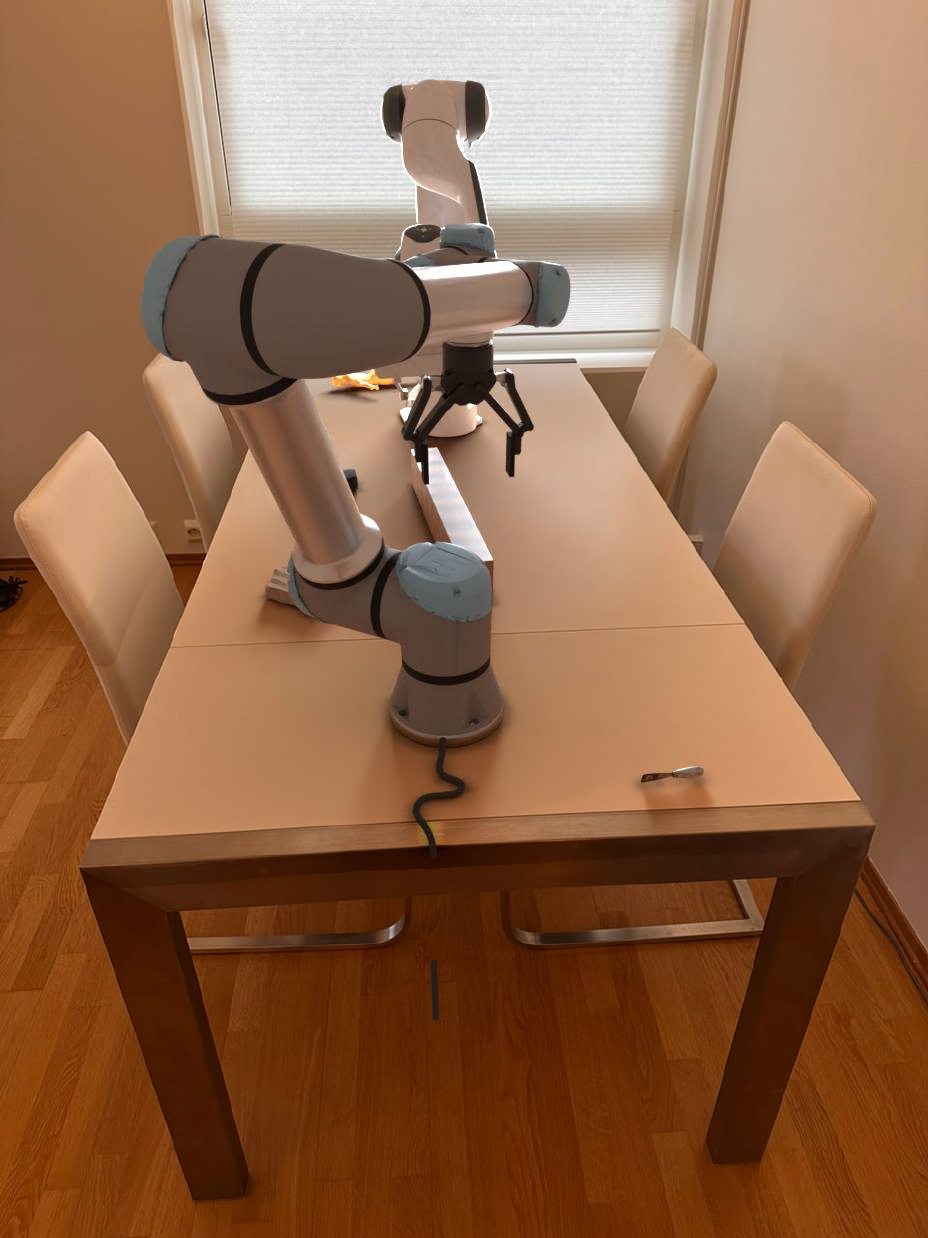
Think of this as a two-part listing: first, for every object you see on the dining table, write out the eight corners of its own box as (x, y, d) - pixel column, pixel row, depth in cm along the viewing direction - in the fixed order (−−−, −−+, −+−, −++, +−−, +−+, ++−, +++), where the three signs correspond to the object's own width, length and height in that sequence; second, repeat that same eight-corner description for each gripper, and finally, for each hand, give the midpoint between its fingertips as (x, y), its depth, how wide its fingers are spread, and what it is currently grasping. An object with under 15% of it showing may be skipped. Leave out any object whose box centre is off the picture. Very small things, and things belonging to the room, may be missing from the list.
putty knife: (703, 777, 109) (705, 767, 109) (642, 788, 108) (644, 777, 107) (700, 772, 110) (702, 762, 109) (639, 782, 109) (640, 771, 108)
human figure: (326, 388, 241) (325, 373, 239) (370, 367, 255) (369, 353, 253) (385, 401, 233) (384, 386, 231) (427, 379, 247) (427, 365, 245)
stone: (354, 583, 150) (352, 570, 149) (317, 618, 141) (316, 605, 140) (288, 570, 155) (286, 557, 153) (249, 603, 145) (246, 590, 144)
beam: (493, 603, 145) (493, 560, 141) (460, 607, 144) (460, 563, 140) (437, 483, 187) (436, 447, 183) (412, 485, 186) (410, 449, 182)
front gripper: (543, 329, 134) (537, 462, 145) (378, 338, 130) (385, 474, 141) (558, 342, 128) (551, 479, 139) (385, 352, 124) (392, 493, 135)
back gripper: (478, 315, 166) (478, 388, 174) (369, 321, 163) (373, 395, 170) (486, 324, 161) (485, 398, 168) (373, 331, 157) (377, 407, 165)
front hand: (467, 477), depth 140 cm, fingers open, 13 cm apart
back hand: (428, 397), depth 169 cm, fingers open, 8 cm apart
